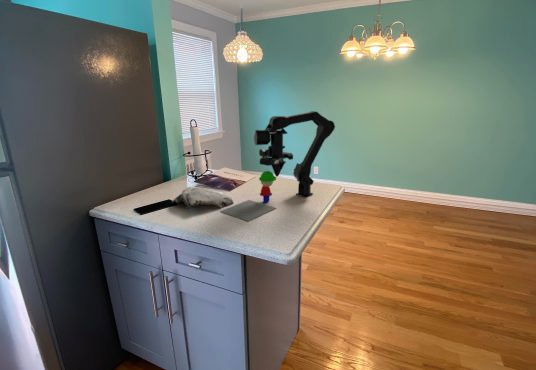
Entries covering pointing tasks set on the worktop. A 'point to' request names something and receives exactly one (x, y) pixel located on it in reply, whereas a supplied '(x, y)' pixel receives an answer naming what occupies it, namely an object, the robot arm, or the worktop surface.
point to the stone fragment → (202, 197)
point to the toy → (266, 185)
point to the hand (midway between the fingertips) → (276, 176)
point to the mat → (248, 210)
